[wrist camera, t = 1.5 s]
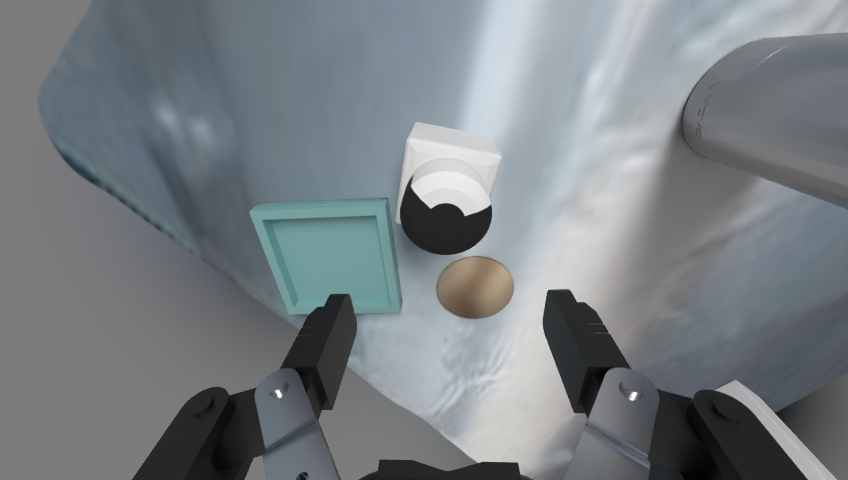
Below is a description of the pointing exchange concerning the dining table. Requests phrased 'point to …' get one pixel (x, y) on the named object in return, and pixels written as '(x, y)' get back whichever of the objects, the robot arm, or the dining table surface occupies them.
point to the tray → (331, 253)
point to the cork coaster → (475, 287)
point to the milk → (779, 432)
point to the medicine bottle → (446, 188)
